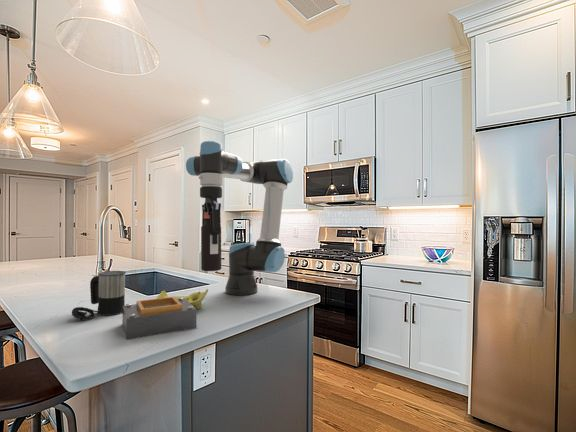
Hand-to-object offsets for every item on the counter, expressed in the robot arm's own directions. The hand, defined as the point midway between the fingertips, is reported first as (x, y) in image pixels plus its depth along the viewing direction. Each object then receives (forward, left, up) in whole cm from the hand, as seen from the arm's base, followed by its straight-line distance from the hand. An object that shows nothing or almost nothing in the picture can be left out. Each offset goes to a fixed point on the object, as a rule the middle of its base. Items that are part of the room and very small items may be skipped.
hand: (210, 252), depth 112 cm
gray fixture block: (+17, -1, -23) cm, 28 cm away
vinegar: (0, 0, -6) cm, 6 cm away
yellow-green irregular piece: (+5, -19, -23) cm, 31 cm away
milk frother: (+33, -25, -23) cm, 47 cm away
